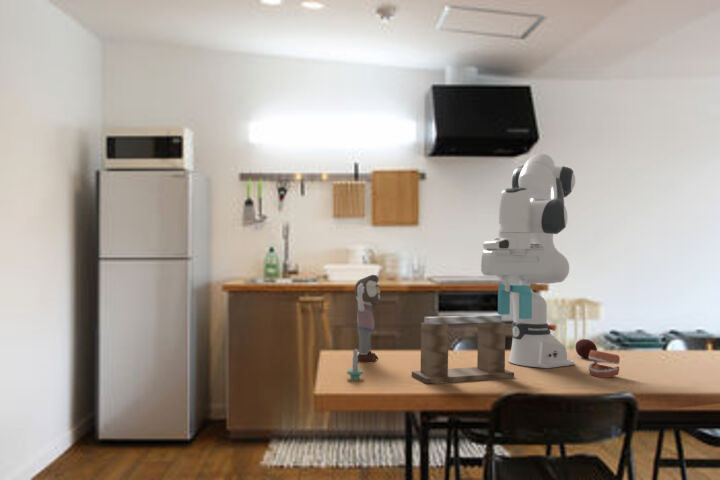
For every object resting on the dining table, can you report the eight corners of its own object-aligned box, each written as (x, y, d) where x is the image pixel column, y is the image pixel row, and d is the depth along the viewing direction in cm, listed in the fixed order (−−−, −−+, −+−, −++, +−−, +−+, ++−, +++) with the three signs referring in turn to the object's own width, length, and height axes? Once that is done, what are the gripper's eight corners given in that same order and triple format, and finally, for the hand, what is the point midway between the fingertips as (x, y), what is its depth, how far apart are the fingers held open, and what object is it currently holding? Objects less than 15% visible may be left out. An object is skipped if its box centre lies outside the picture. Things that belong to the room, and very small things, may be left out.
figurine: (373, 367, 169) (375, 275, 170) (345, 365, 171) (347, 275, 172) (382, 356, 187) (383, 274, 188) (356, 355, 189) (358, 273, 190)
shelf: (495, 370, 167) (495, 313, 168) (514, 377, 158) (514, 317, 159) (411, 376, 157) (412, 315, 158) (426, 384, 148) (427, 319, 148)
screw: (351, 376, 155) (366, 378, 153) (343, 380, 151) (358, 382, 149) (351, 346, 156) (366, 348, 154) (344, 349, 151) (359, 350, 149)
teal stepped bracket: (506, 313, 154) (506, 283, 154) (531, 318, 143) (531, 286, 143) (497, 314, 153) (498, 283, 153) (522, 319, 142) (522, 286, 142)
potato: (584, 360, 187) (584, 341, 187) (570, 356, 194) (570, 337, 195) (601, 360, 189) (601, 340, 189) (587, 355, 196) (587, 337, 196)
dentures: (581, 373, 165) (581, 348, 165) (595, 371, 169) (595, 347, 169) (606, 379, 158) (606, 353, 158) (620, 377, 161) (620, 351, 161)
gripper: (536, 243, 155) (536, 289, 155) (478, 242, 148) (478, 291, 148) (551, 243, 149) (551, 291, 149) (490, 242, 142) (490, 292, 142)
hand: (514, 291), depth 148 cm, fingers closed on teal stepped bracket, 2 cm apart
